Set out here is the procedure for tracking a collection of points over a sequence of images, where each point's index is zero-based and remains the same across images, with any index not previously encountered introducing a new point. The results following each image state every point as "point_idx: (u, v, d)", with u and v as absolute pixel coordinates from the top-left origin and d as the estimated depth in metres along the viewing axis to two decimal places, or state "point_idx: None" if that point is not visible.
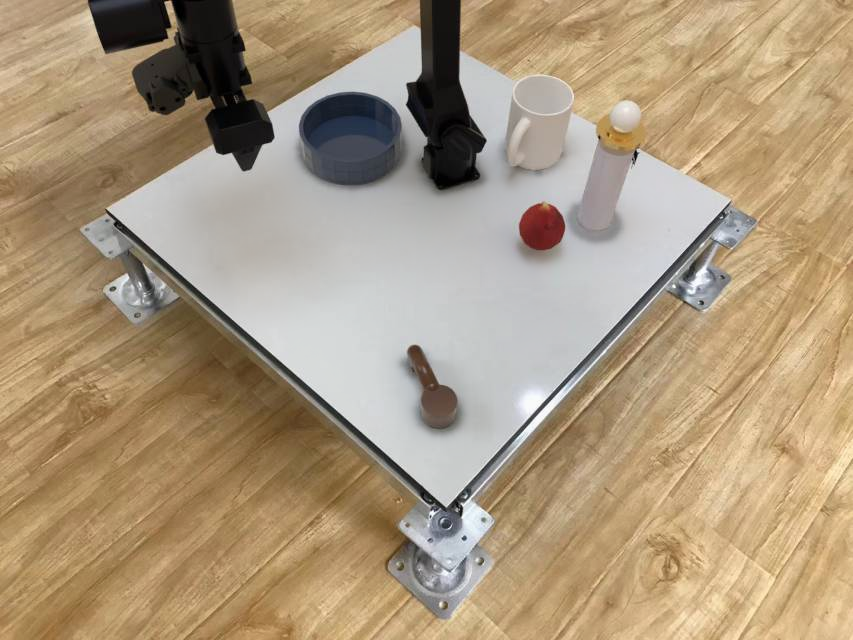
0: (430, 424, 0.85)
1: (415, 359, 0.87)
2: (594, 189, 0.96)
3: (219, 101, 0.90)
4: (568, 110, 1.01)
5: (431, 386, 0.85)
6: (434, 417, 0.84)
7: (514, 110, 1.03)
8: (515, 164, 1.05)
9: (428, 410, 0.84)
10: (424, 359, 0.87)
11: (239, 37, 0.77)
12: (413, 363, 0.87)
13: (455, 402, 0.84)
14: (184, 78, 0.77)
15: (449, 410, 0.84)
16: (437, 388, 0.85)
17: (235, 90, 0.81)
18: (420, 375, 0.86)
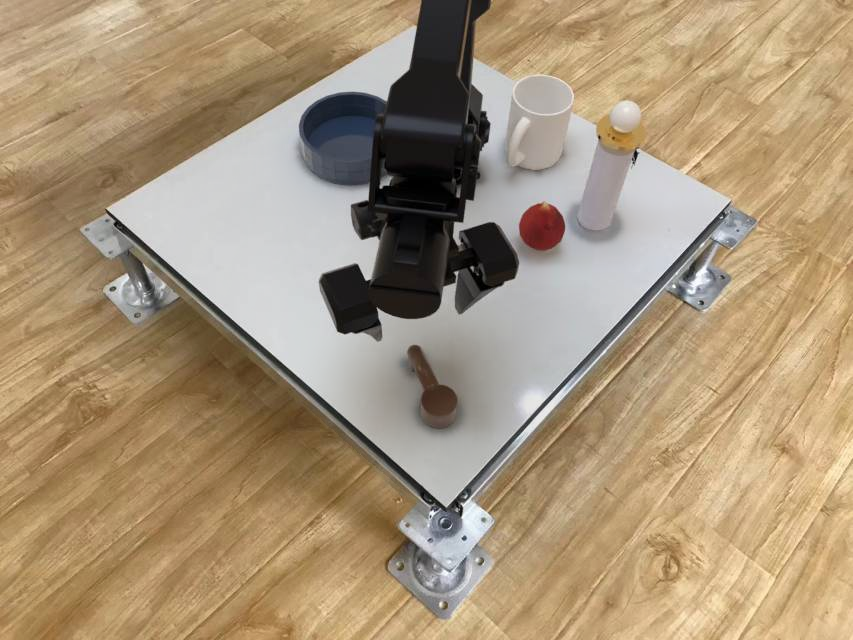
0: (430, 424, 0.85)
1: (415, 359, 0.87)
2: (594, 189, 0.96)
3: (458, 294, 0.80)
4: (568, 110, 1.01)
5: (431, 386, 0.85)
6: (434, 417, 0.84)
7: (514, 110, 1.03)
8: (515, 164, 1.05)
9: (428, 410, 0.84)
10: (424, 359, 0.87)
11: None
12: (413, 363, 0.87)
13: (455, 402, 0.84)
14: (382, 229, 0.72)
15: (449, 410, 0.84)
16: (437, 388, 0.85)
17: None
18: (420, 375, 0.86)
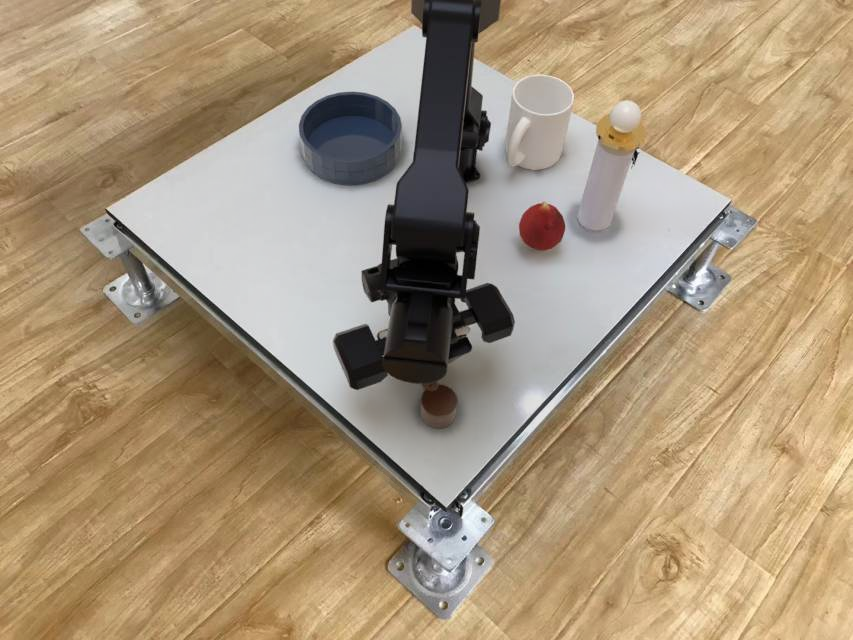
0: (430, 424, 0.85)
1: None
2: (594, 189, 0.96)
3: None
4: (568, 110, 1.01)
5: (431, 386, 0.85)
6: (433, 417, 0.84)
7: (514, 110, 1.03)
8: (515, 164, 1.05)
9: (428, 410, 0.84)
10: None
11: None
12: None
13: (455, 402, 0.84)
14: (390, 293, 0.79)
15: (449, 410, 0.84)
16: (437, 388, 0.85)
17: None
18: None
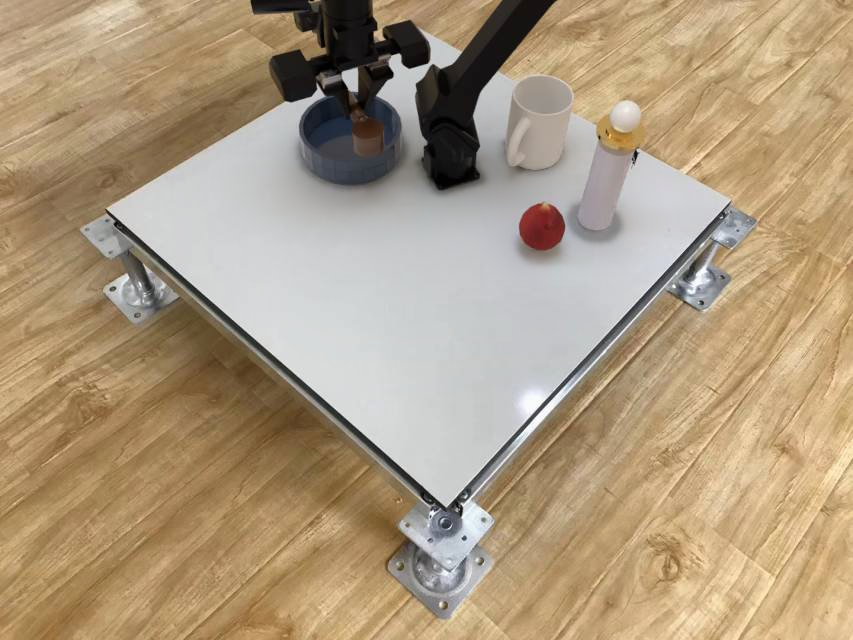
0: (361, 153, 0.96)
1: None
2: (594, 189, 0.96)
3: (360, 95, 0.96)
4: (568, 110, 1.01)
5: (360, 118, 0.95)
6: (362, 142, 0.94)
7: (514, 110, 1.03)
8: (515, 164, 1.05)
9: (357, 135, 0.94)
10: (354, 99, 0.97)
11: (344, 30, 0.84)
12: None
13: (382, 129, 0.95)
14: None
15: (376, 135, 0.94)
16: (366, 120, 0.96)
17: (331, 63, 0.89)
18: (351, 111, 0.96)
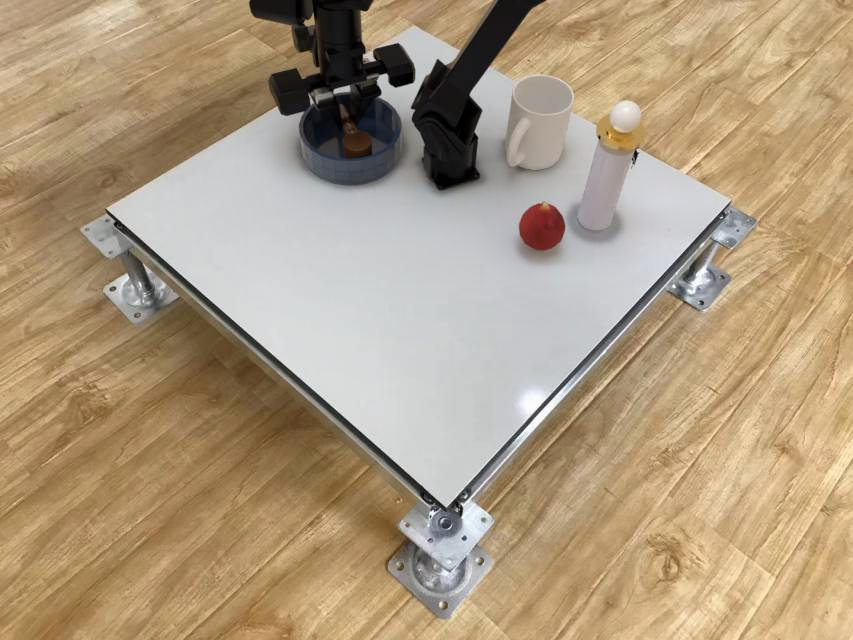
0: None
1: None
2: (594, 189, 0.96)
3: (351, 109, 1.06)
4: (568, 110, 1.01)
5: (351, 130, 1.05)
6: (352, 152, 1.04)
7: (514, 110, 1.03)
8: (515, 164, 1.05)
9: (347, 146, 1.04)
10: (347, 113, 1.07)
11: (335, 52, 0.94)
12: None
13: (370, 141, 1.04)
14: None
15: (364, 146, 1.04)
16: (356, 132, 1.05)
17: (324, 81, 0.99)
18: (343, 123, 1.06)
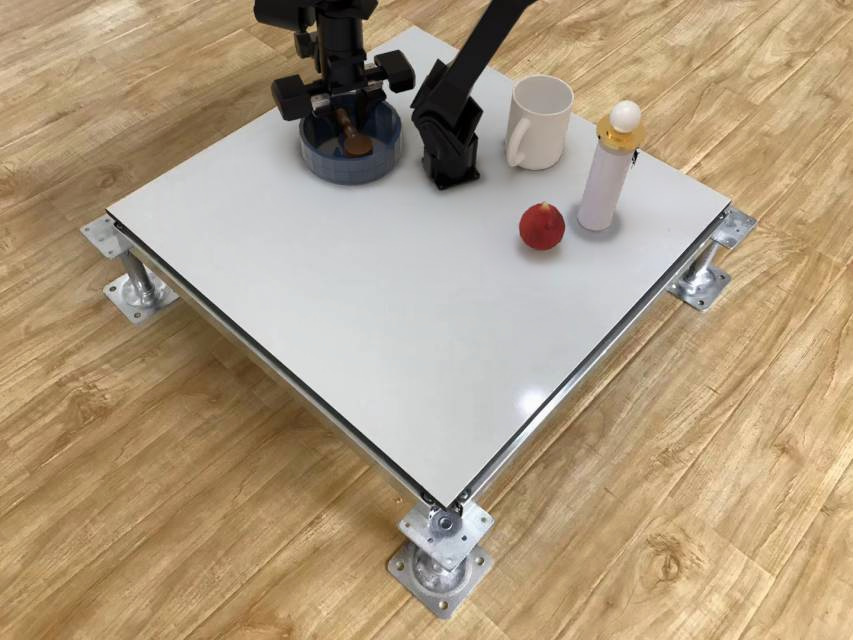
0: None
1: (341, 117, 1.08)
2: (594, 189, 0.96)
3: (357, 113, 1.08)
4: (568, 110, 1.01)
5: (352, 134, 1.06)
6: (353, 156, 1.05)
7: (514, 110, 1.03)
8: (515, 164, 1.05)
9: (348, 150, 1.05)
10: (348, 117, 1.08)
11: (337, 59, 0.96)
12: (339, 120, 1.09)
13: (371, 145, 1.06)
14: None
15: (366, 150, 1.05)
16: (357, 136, 1.07)
17: (326, 87, 1.01)
18: (344, 127, 1.07)
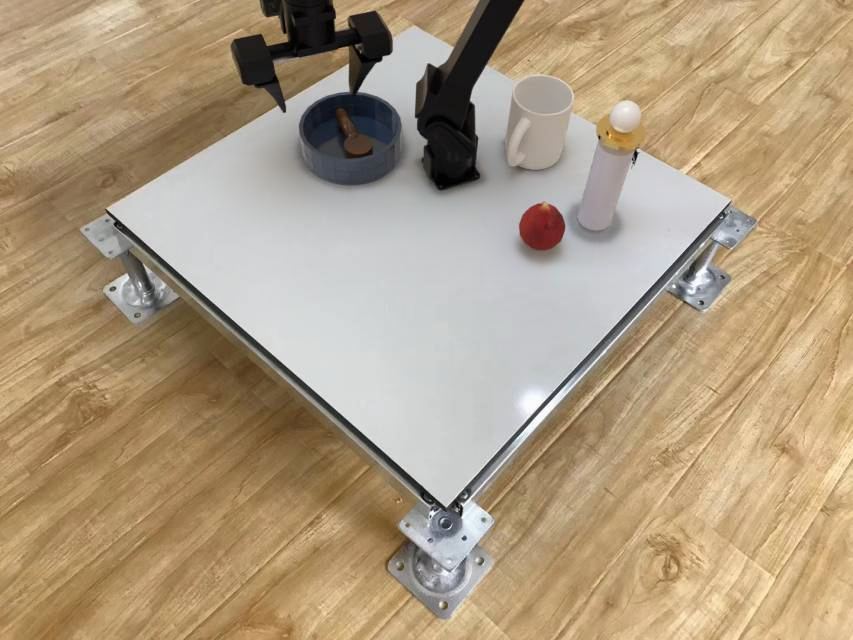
0: None
1: (341, 117, 1.08)
2: (594, 189, 0.96)
3: (350, 77, 0.98)
4: (568, 110, 1.01)
5: (352, 134, 1.06)
6: (353, 156, 1.05)
7: (514, 110, 1.03)
8: (515, 164, 1.05)
9: (348, 150, 1.05)
10: (348, 117, 1.08)
11: (302, 16, 0.85)
12: (339, 120, 1.09)
13: (371, 145, 1.06)
14: None
15: (366, 150, 1.05)
16: (357, 136, 1.07)
17: (292, 49, 0.90)
18: (344, 127, 1.07)
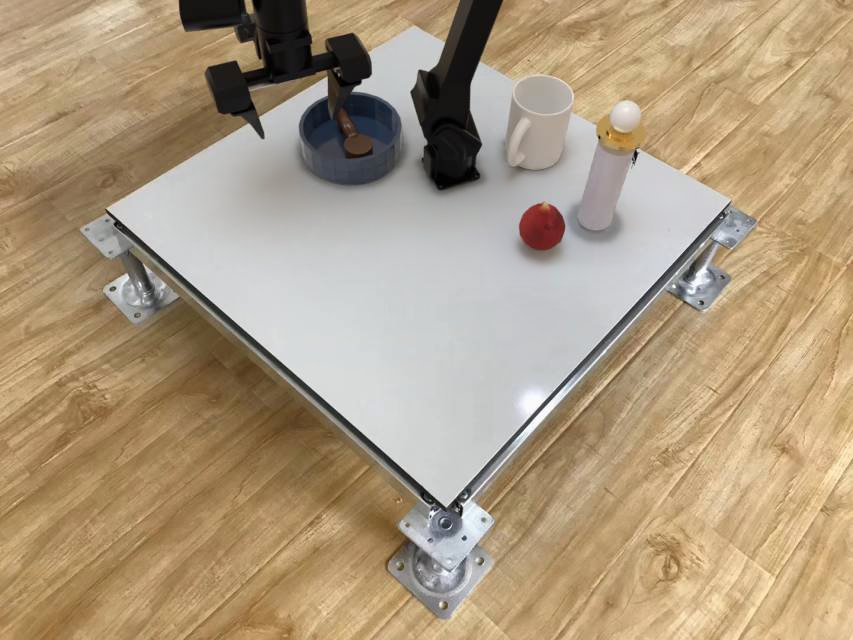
0: None
1: (341, 117, 1.08)
2: (594, 189, 0.96)
3: (329, 100, 0.96)
4: (568, 110, 1.01)
5: (352, 134, 1.06)
6: (353, 156, 1.05)
7: (514, 110, 1.03)
8: (515, 164, 1.05)
9: (348, 150, 1.05)
10: (348, 117, 1.08)
11: (277, 42, 0.83)
12: (339, 120, 1.09)
13: (371, 145, 1.06)
14: None
15: (366, 150, 1.05)
16: (357, 136, 1.07)
17: (268, 75, 0.88)
18: (344, 127, 1.07)
